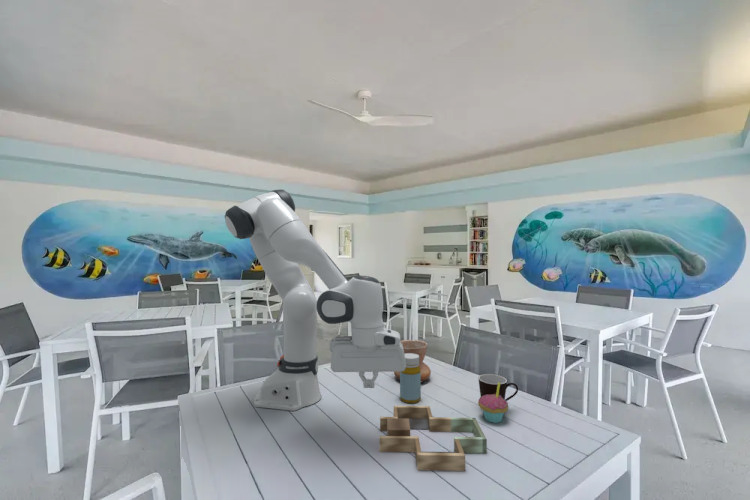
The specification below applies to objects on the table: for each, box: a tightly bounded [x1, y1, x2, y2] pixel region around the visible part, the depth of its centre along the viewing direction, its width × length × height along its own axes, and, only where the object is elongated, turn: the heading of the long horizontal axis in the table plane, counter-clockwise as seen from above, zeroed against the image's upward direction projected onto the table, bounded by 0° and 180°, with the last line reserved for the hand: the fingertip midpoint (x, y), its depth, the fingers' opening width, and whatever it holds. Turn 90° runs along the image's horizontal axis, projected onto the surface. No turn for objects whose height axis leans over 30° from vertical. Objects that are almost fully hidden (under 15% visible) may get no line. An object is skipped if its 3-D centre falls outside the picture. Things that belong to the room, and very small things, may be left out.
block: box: [386, 418, 411, 436], centre depth 92 cm, size 6×6×4 cm
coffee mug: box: [477, 373, 519, 402], centre depth 108 cm, size 12×9×10 cm
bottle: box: [399, 353, 422, 404], centre depth 117 cm, size 7×7×15 cm
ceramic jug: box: [393, 339, 432, 383], centre depth 135 cm, size 18×14×14 cm
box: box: [378, 405, 488, 472], centre depth 92 cm, size 27×25×4 cm
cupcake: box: [477, 381, 509, 424], centre depth 103 cm, size 9×8×12 cm
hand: (369, 387), depth 92 cm, fingers closed
